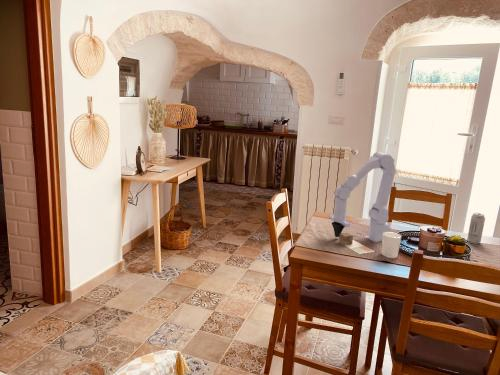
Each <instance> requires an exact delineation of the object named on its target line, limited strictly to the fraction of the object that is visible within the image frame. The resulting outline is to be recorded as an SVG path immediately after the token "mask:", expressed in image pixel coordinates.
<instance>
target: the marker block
mask: <svg viewBox="0 0 500 375" xmlns="http://www.w3.org/2000/svg"><path fill="white" fill-rule="evenodd" d="M338 240H339V241H338V243H339V242H340V243H339V244H342V245H343V246H345V245H351V244H352V242H353V240H354V235H353V234H351V233H349V232H341V233H340V237H338Z"/></svg>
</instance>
